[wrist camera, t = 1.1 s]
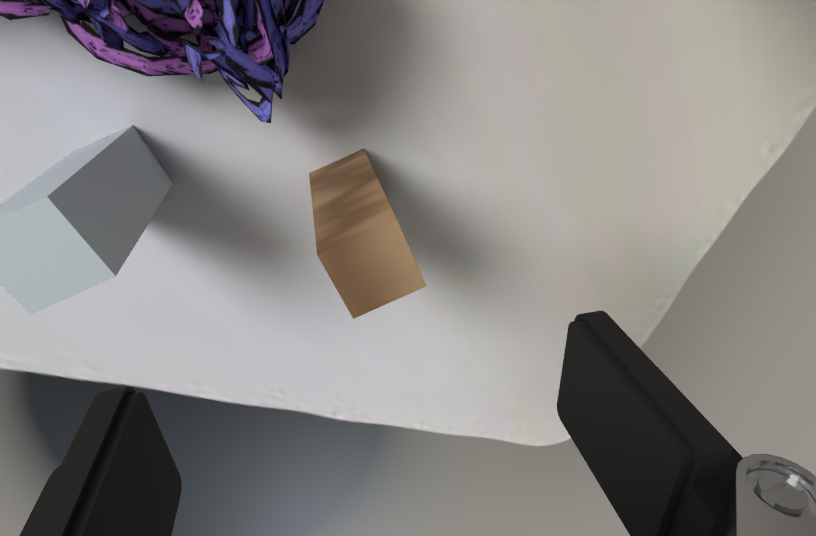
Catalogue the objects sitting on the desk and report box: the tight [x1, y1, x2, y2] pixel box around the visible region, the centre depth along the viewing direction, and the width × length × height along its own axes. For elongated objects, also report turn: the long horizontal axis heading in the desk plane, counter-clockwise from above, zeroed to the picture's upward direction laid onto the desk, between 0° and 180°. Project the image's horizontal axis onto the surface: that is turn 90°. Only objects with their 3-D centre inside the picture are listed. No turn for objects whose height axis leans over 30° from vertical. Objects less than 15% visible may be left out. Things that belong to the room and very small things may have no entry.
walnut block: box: [309, 149, 426, 319], centre depth 29 cm, size 4×4×12 cm
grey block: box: [0, 125, 173, 314], centre depth 25 cm, size 4×4×12 cm
